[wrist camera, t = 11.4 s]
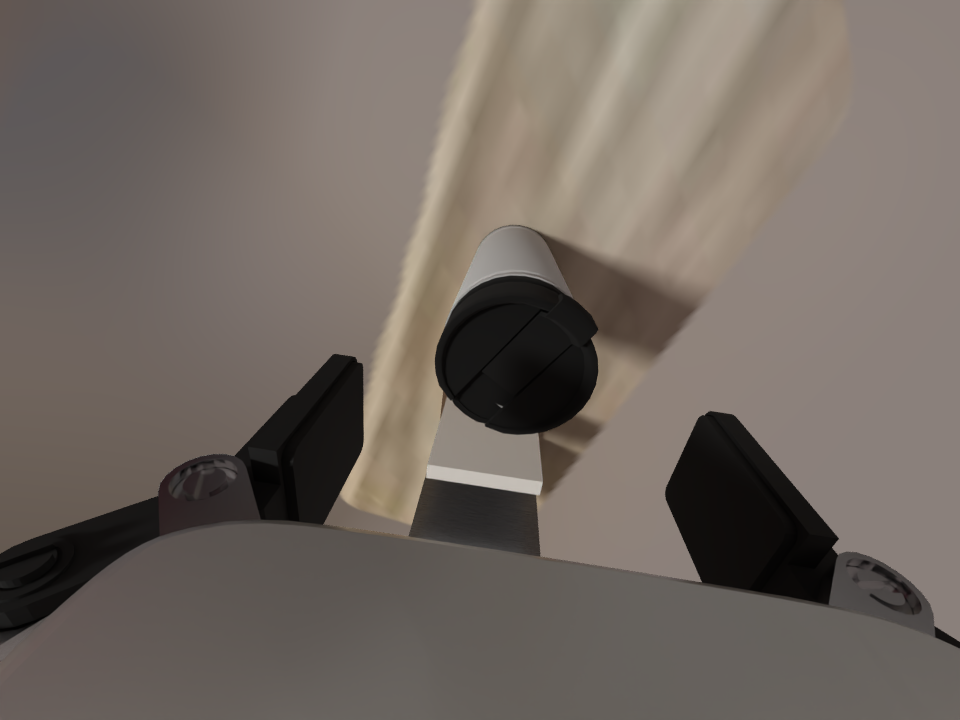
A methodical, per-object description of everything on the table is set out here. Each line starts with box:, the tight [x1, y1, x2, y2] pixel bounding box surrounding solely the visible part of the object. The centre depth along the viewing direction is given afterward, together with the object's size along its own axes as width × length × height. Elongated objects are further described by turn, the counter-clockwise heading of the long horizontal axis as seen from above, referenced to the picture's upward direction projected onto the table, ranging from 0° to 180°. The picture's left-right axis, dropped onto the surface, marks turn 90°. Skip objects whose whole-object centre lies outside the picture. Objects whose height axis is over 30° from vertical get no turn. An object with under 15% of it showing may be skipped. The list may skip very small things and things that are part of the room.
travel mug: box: [435, 225, 598, 435], centre depth 24 cm, size 6×7×20 cm
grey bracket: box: [409, 391, 540, 556], centre depth 32 cm, size 14×9×14 cm, turn 172°
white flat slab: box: [426, 397, 543, 495], centre depth 32 cm, size 1×9×10 cm, turn 82°
